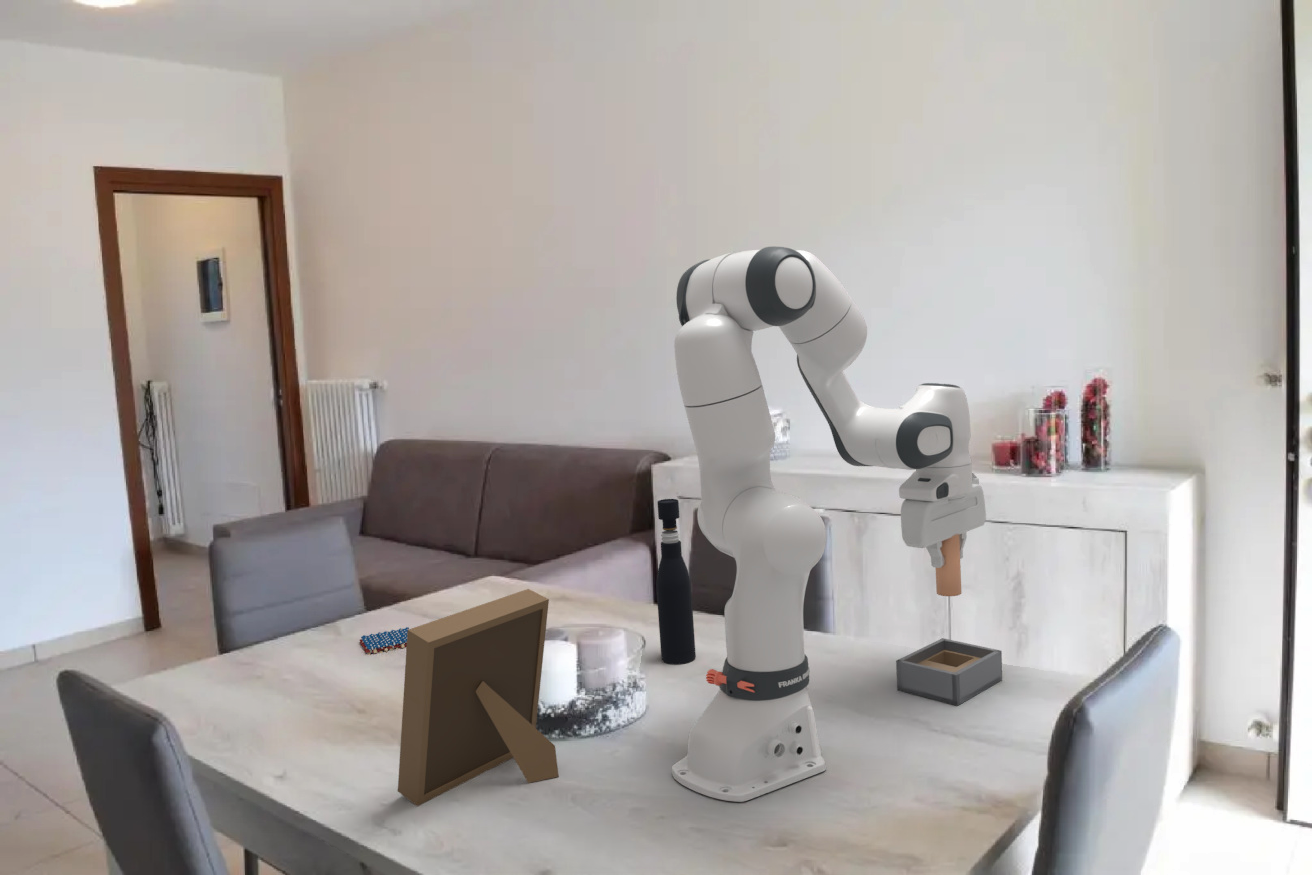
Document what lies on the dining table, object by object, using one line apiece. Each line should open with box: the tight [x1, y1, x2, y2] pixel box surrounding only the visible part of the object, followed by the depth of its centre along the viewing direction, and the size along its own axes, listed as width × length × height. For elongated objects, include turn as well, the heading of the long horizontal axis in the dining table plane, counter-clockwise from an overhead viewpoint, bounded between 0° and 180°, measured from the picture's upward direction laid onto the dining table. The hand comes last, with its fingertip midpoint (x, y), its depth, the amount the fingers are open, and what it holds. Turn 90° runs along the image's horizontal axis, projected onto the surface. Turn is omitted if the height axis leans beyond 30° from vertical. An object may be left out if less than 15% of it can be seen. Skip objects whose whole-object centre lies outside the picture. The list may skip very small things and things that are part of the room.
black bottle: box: [655, 498, 697, 665], centre depth 186 cm, size 6×6×30 cm
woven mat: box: [359, 627, 410, 656], centre depth 208 cm, size 10×11×2 cm
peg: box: [934, 534, 963, 597], centre depth 166 cm, size 4×4×10 cm
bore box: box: [895, 637, 1003, 707], centre depth 165 cm, size 14×11×5 cm
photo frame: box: [397, 588, 559, 807], centre depth 141 cm, size 15×22×25 cm
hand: (947, 563), depth 166 cm, fingers closed on peg, 4 cm apart
